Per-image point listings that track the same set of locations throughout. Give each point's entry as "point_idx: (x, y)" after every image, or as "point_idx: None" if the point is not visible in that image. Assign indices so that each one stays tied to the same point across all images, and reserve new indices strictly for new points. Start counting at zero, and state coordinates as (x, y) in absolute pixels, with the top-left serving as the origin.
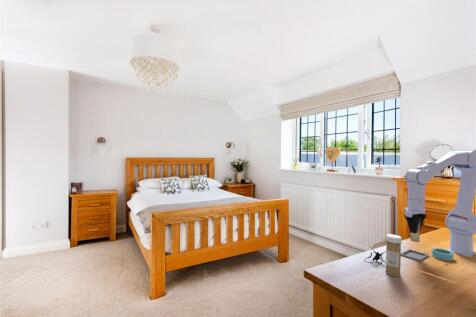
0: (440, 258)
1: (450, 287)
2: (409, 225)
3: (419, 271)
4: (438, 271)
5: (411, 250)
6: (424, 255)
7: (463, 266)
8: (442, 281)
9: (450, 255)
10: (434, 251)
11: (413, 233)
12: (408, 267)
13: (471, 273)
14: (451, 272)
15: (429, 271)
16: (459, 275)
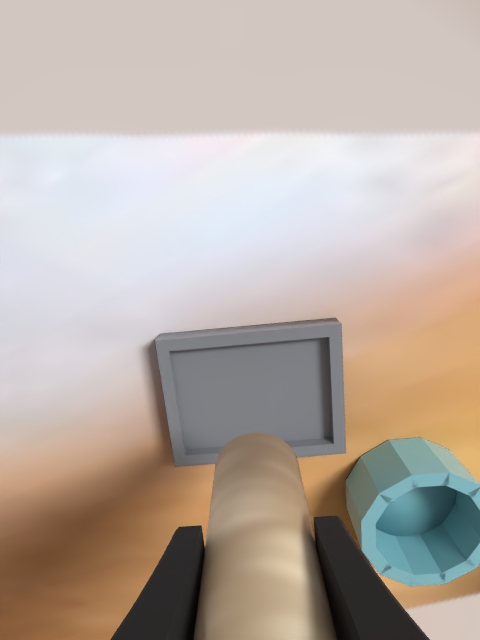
0: (349, 511)
1: (12, 635)
2: (130, 635)
3: (44, 502)
4: (152, 550)
5: (329, 345)
6: (328, 427)
7: None
8: (41, 600)
9: (394, 575)
10: (372, 502)
11: (205, 545)
12: (34, 448)
13: None
14: None
15: (102, 528)
16: None
